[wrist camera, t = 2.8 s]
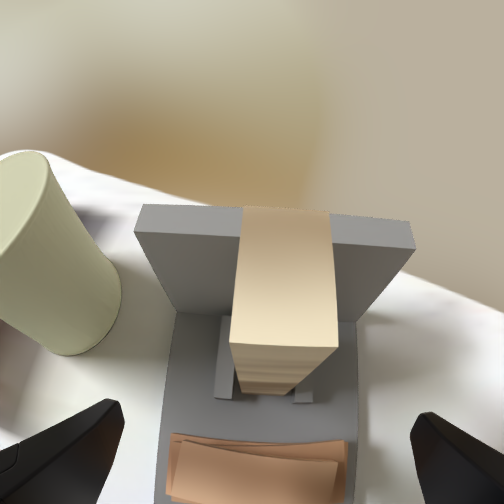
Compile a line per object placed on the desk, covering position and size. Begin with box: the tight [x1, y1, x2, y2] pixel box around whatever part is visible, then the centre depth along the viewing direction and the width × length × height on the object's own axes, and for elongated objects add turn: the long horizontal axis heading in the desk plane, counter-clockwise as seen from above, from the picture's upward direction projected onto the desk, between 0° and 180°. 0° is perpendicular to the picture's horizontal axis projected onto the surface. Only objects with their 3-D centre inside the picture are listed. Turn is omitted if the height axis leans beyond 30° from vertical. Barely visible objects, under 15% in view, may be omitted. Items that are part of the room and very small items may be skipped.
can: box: [0, 151, 121, 356], centre depth 16 cm, size 9×9×12 cm
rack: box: [134, 204, 416, 504], centre depth 12 cm, size 18×12×10 cm
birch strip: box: [229, 206, 338, 396], centre depth 13 cm, size 4×2×12 cm, turn 176°
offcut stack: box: [166, 433, 348, 504], centre depth 12 cm, size 4×10×4 cm, turn 86°
